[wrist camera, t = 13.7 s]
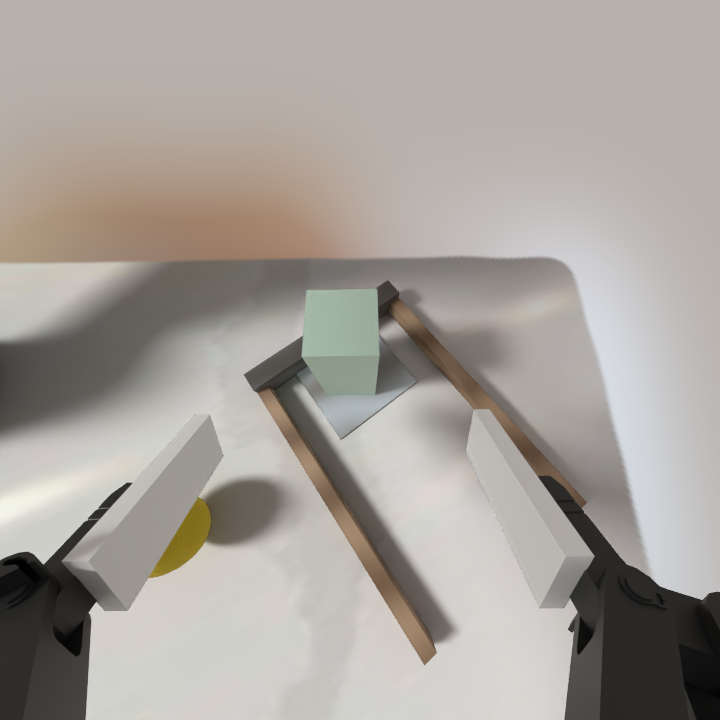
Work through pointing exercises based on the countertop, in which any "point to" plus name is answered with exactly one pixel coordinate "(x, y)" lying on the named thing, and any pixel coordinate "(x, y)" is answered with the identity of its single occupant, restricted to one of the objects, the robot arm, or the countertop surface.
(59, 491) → the countertop surface
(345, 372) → the block
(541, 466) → the track
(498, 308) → the countertop surface
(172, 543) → the lemon
